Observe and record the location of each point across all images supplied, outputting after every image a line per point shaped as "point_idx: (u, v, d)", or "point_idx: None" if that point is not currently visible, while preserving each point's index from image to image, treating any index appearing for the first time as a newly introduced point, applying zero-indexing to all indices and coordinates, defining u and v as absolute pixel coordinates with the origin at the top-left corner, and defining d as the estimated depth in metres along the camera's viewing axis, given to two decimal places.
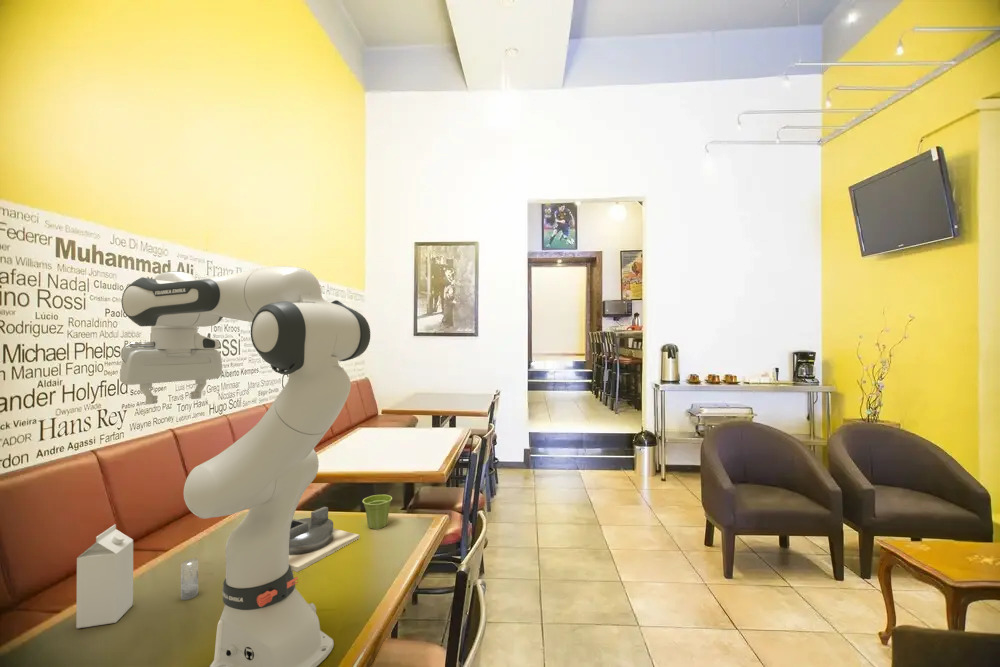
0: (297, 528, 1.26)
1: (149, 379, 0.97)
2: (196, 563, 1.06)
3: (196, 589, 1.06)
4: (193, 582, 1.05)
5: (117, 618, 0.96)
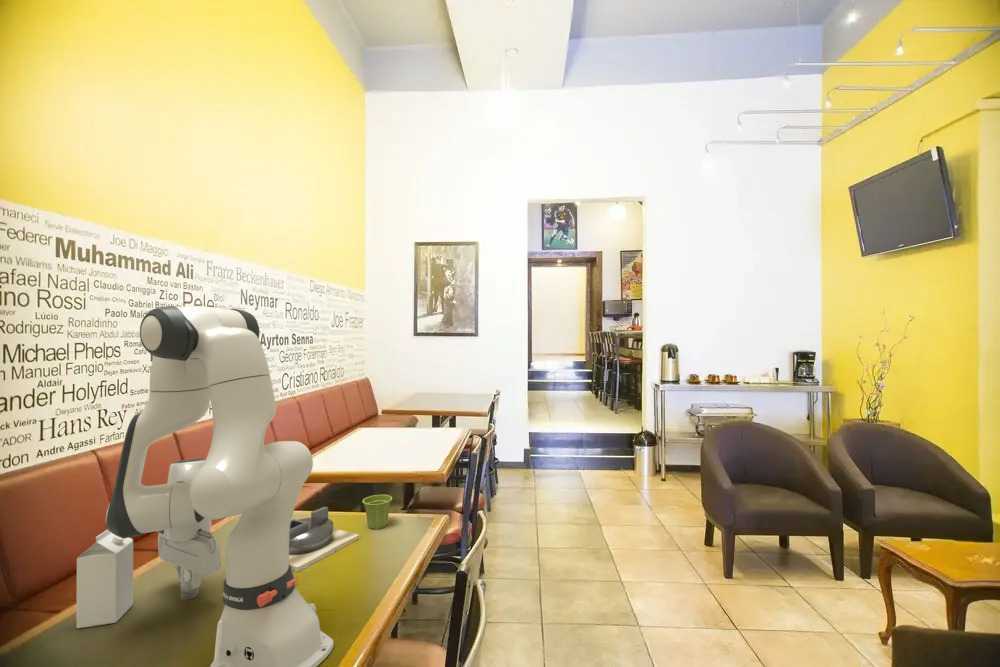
0: (297, 528, 1.26)
1: None
2: None
3: (196, 589, 1.06)
4: None
5: (117, 618, 0.96)
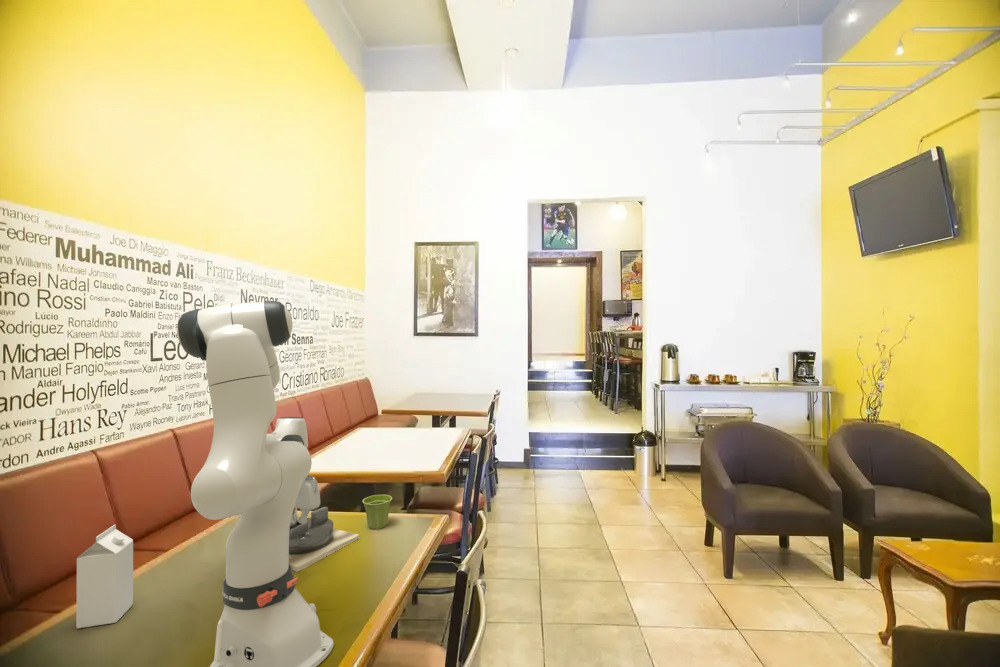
0: (297, 528, 1.26)
1: None
2: None
3: None
4: (294, 522, 1.26)
5: (117, 618, 0.96)
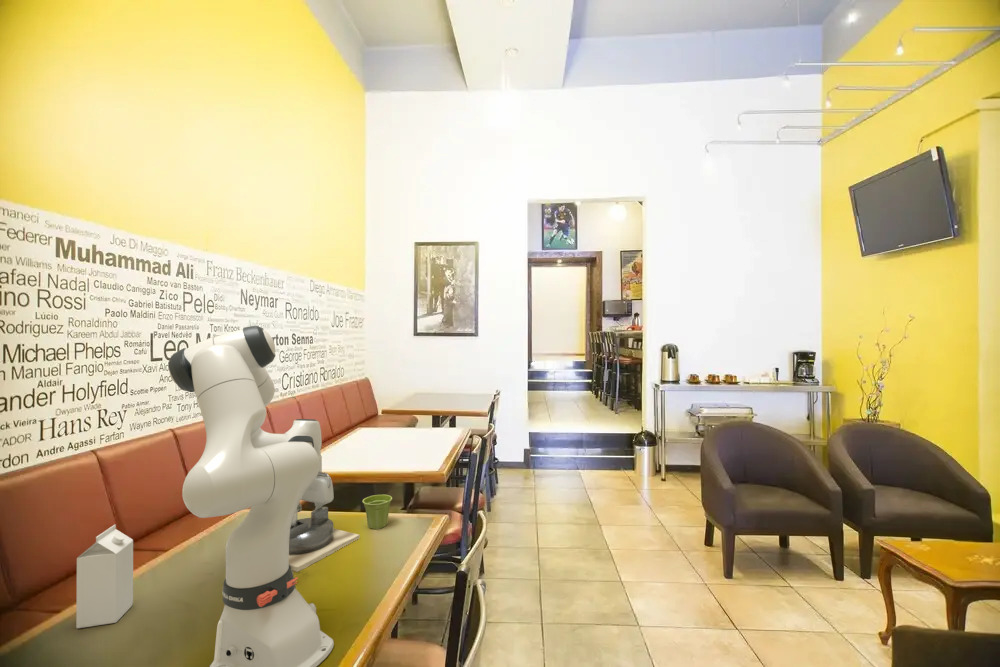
0: (297, 528, 1.26)
1: None
2: None
3: None
4: (294, 522, 1.26)
5: (117, 618, 0.96)
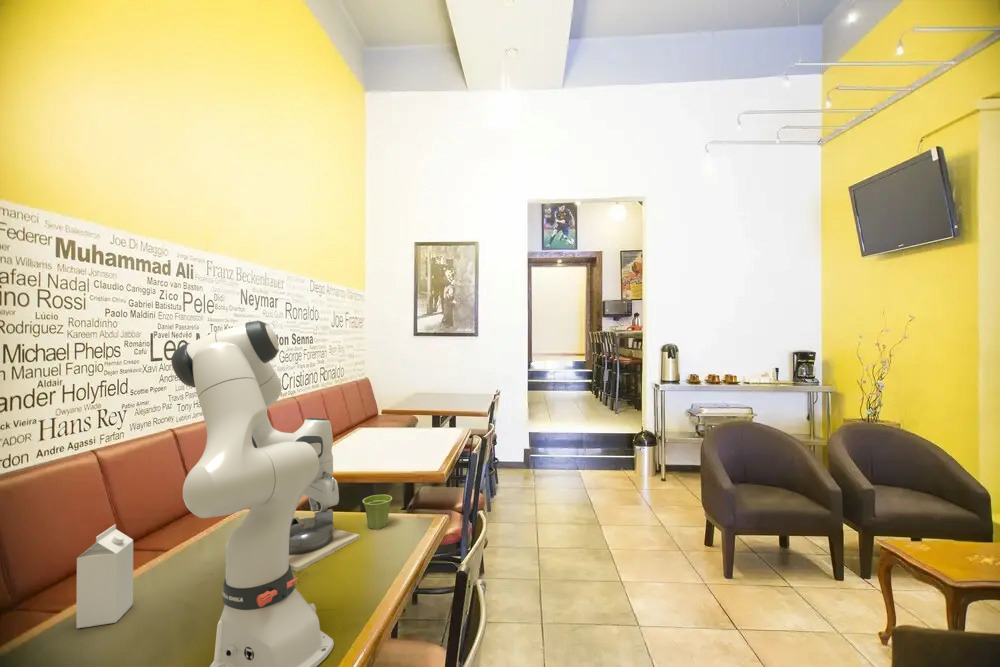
0: None
1: None
2: None
3: None
4: None
5: (117, 618, 0.96)
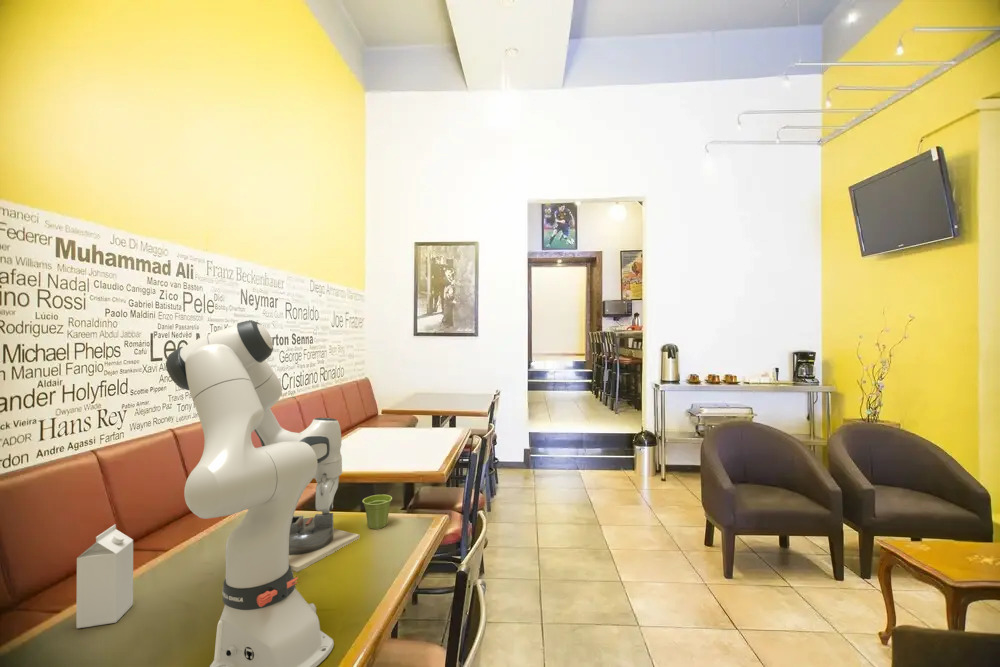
0: None
1: (330, 502, 1.32)
2: None
3: None
4: None
5: (117, 618, 0.96)
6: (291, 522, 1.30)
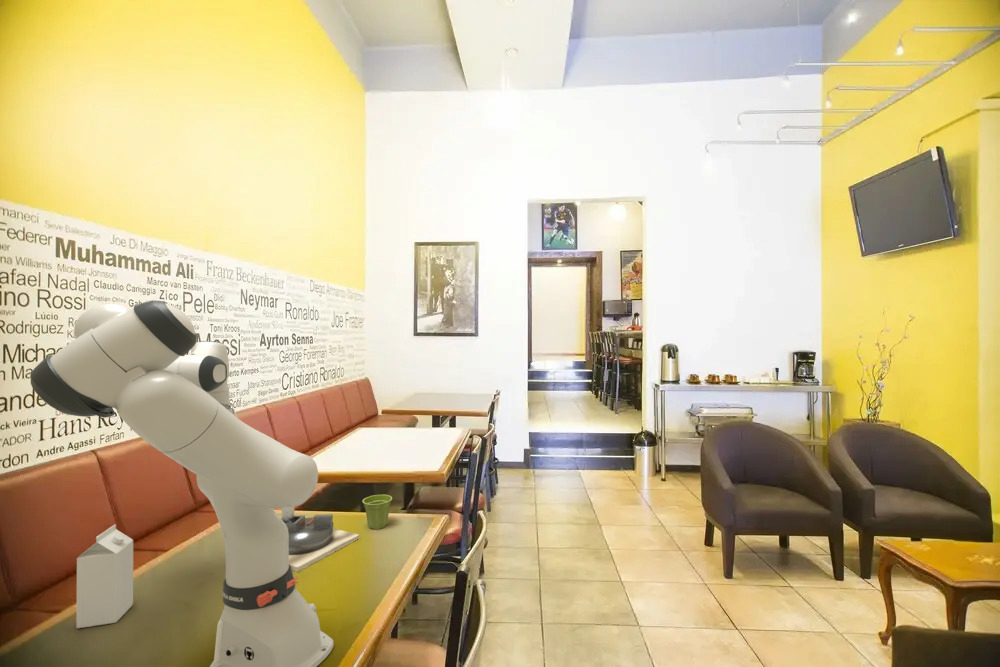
0: None
1: None
2: None
3: None
4: (284, 518, 1.30)
5: (117, 618, 0.96)
6: (291, 521, 1.30)
